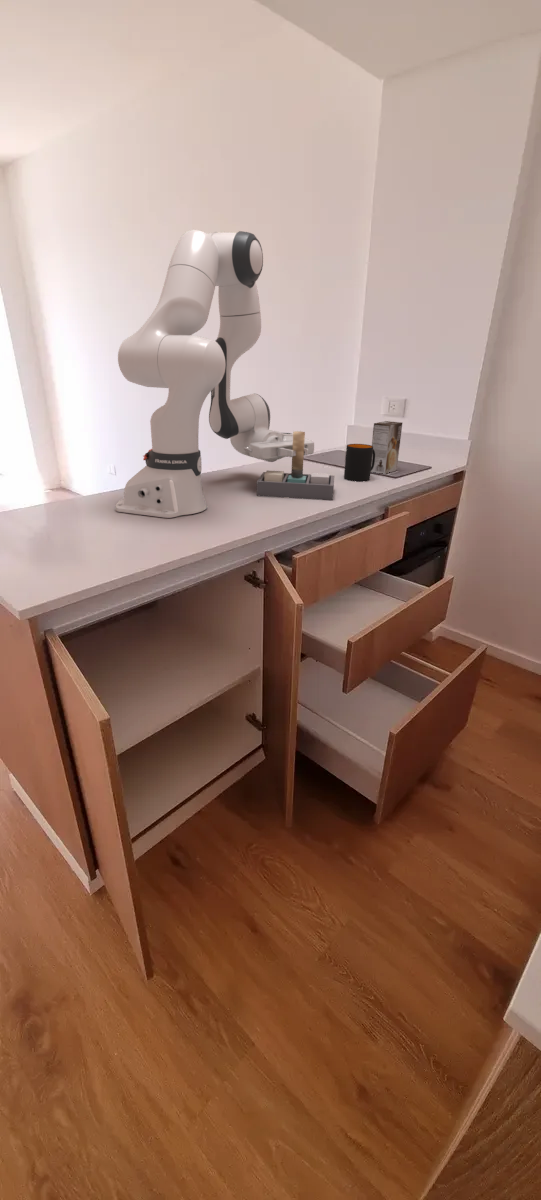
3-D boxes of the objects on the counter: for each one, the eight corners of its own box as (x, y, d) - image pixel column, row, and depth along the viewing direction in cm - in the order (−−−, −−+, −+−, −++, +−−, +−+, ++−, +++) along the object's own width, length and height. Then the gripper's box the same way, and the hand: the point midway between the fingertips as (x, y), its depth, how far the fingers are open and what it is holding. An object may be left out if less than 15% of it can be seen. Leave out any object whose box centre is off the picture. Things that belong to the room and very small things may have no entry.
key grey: (310, 487, 145) (310, 476, 144) (311, 483, 150) (311, 472, 149) (328, 488, 145) (328, 477, 144) (328, 484, 149) (329, 473, 148)
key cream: (264, 484, 147) (264, 474, 145) (266, 480, 151) (266, 470, 150) (281, 485, 146) (282, 474, 145) (283, 481, 151) (284, 471, 149)
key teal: (287, 489, 147) (287, 478, 145) (288, 485, 151) (289, 475, 150) (304, 490, 146) (305, 479, 145) (305, 486, 151) (306, 475, 149)
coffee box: (380, 468, 185) (385, 420, 178) (397, 470, 181) (403, 422, 174) (368, 472, 178) (373, 422, 171) (385, 474, 174) (391, 424, 168)
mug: (382, 478, 169) (386, 445, 165) (357, 482, 162) (361, 448, 158) (363, 473, 175) (366, 442, 171) (338, 478, 168) (341, 445, 164)
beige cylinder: (290, 477, 146) (292, 432, 141) (291, 474, 149) (293, 431, 143) (302, 477, 145) (304, 433, 140) (302, 475, 148) (305, 431, 143)
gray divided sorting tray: (256, 495, 144) (257, 481, 143) (263, 485, 156) (263, 471, 154) (332, 500, 142) (333, 485, 140) (333, 489, 154) (334, 475, 152)
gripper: (240, 437, 146) (270, 444, 136) (296, 432, 158) (327, 438, 148) (240, 460, 149) (270, 468, 139) (295, 454, 160) (325, 461, 151)
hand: (300, 453), depth 144 cm, fingers closed on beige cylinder, 3 cm apart
